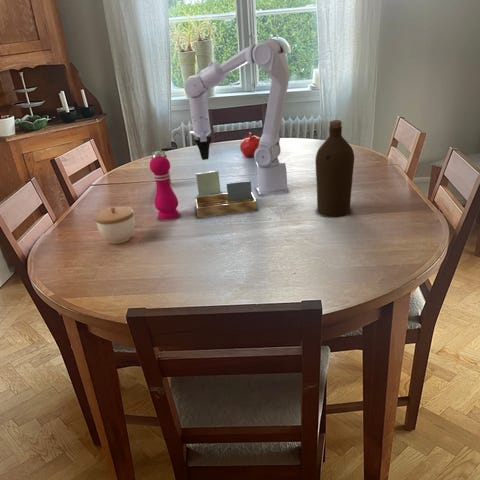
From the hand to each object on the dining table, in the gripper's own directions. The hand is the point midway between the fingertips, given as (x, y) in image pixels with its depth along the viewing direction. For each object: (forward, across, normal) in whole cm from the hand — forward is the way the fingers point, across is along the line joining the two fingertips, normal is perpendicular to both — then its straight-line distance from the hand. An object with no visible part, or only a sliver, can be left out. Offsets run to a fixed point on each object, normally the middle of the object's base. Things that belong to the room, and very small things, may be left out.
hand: (205, 159), depth 163 cm
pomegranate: (+11, -38, +21) cm, 45 cm away
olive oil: (+11, +35, +35) cm, 51 cm away
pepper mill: (+11, +23, -14) cm, 29 cm away
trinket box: (+11, +36, -28) cm, 47 cm away
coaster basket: (+10, +22, +4) cm, 25 cm away
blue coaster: (+10, +22, +9) cm, 26 cm away
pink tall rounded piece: (+11, -10, -16) cm, 22 cm away
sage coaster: (+10, +6, 0) cm, 12 cm away
